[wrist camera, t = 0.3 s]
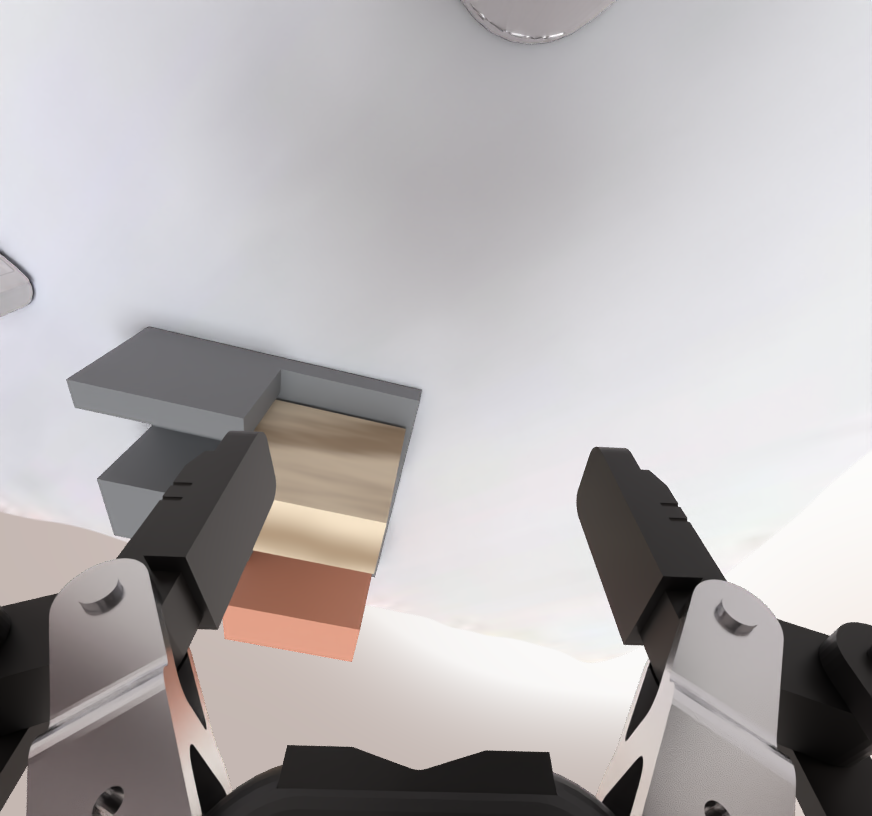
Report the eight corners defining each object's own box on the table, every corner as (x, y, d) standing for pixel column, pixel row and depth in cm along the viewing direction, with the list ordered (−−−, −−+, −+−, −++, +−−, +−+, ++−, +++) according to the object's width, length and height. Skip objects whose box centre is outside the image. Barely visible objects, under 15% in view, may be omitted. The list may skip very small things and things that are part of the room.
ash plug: (271, 398, 31) (209, 486, 23) (405, 428, 32) (386, 523, 24) (271, 449, 34) (215, 542, 26) (394, 476, 34) (373, 574, 27)
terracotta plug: (270, 508, 38) (221, 604, 30) (381, 531, 38) (359, 629, 31) (269, 543, 40) (224, 638, 33) (372, 564, 41) (351, 661, 34)
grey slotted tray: (148, 326, 30) (66, 379, 24) (421, 390, 32) (410, 455, 26) (181, 525, 43) (132, 594, 36) (377, 564, 44) (362, 636, 38)
